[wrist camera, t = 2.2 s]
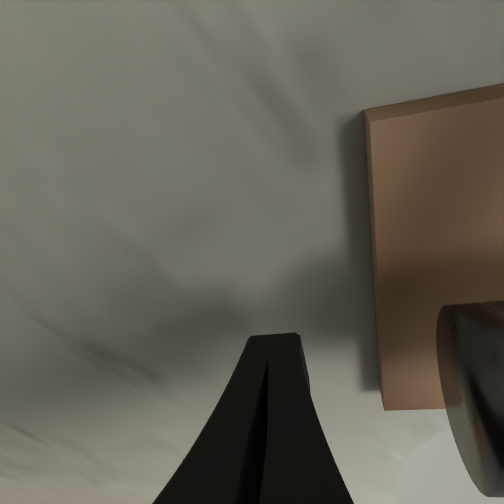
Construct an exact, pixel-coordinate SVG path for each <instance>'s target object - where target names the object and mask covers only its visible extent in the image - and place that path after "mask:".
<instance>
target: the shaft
mask: <svg viewBox="0 0 504 504" xmlns="http://www.w3.org/2000/svg"><path fill="white" fill-rule="evenodd" d="M436 349H437V361H438V369H439V376H440V382H441V388H442V393H443V398H444V403H445V407H446V411H447V415H448V419H449V422H450V426H451V429H452V432H453V436H454V439H455V442H456V445H457V447H458V450H459V453H460V455H461V458H462V460H463V463H464V465H465V467H466V469H467V471H468V473H469V475H470V477H471V479H472V481H473V482H474V484H475V485H476V487H477V488H478V489H479V491H480V492H481V493H482V494H484V495H485V496H487V497H504V300H499V301H487V302H476V303H464V304H452V305H445V306H443V307H442V308H441V310H440V312H439V315H438V319H437V327H436Z"/></svg>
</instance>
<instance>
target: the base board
mask: <svg viewBox="0 0 504 504" xmlns="http://www.w3.org/2000/svg"><path fill="white" fill-rule="evenodd" d="M364 118H365V135H366V153H367V171H368V189H369V206H370V224H371V242H372V260H373V277H374V295H375V313H376V331H377V348H378V366H379V384H380V392H381V397H382V402H383V407H384V411H388V410H417V409H446V407H445V403H444V398H443V393H442V388H441V382H440V376H439V369H438V361H437V349H436V327H437V319H438V315H439V312H440V310H441V308H442V307H443V306H445V305H452V304H464V303H476V302H487V301H499V300H504V84H499V85H493V86H488V87H483V88H478V89H472V90H467V91H462V92H456V93H451V94H446V95H440V96H435V97H430V98H425V99H419V100H414V101H409V102H403V103H398V104H393V105H387V106H382V107H377V108H372V109H366V110H364Z"/></svg>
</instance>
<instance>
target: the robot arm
mask: <svg viewBox="0 0 504 504" xmlns="http://www.w3.org/2000/svg"><path fill="white" fill-rule="evenodd" d="M152 504H354V503H353V501H352V498H351V496H350V494H349V492H348V490H347V488H346V486H345V483H344V481H343V479H342V477H341V474H340V472H339V470H338V467H337V465H336V463H335V461H334V458H333V456H332V453H331V451H330V448H329V446H328V443H327V441H326V438H325V436H324V433H323V430H322V428H321V425H320V422H319V420H318V417H317V414H316V411H315V408H314V405H313V402H312V398H311V394H310V384H309V376H308V371H307V366H306V362H305V357H304V352H303V347H302V343H301V338H300V335H298V334H297V333H283V334H270V335H257V336H251V337H250V338H249V339H248V340H247V343H246V345H245V348H244V350H243V352H242V355H241V357H240V359H239V362H238V364H237V366H236V368H235V370H234V372H233V374H232V376H231V378H230V380H229V382H228V384H227V386H226V388H225V390H224V392H223V394H222V396H221V398H220V400H219V402H218V404H217V405H216V407H215V409H214V411H213V413H212V414H211V416H210V418H209V419H208V421H207V423H206V425H205V426H204V428H203V430H202V431H201V433H200V435H199V436H198V438H197V440H196V441H195V443H194V445H193V446H192V448H191V449H190V451H189V452H188V454H187V455H186V457H185V459H184V460H183V462H182V463H181V464H180V466H179V467H178V469H177V470H176V472H175V473H174V475H173V476H172V478H171V479H170V480H169V482H168V483H167V485H166V486H165V487H164V489H163V490H162V491H161V493H160V494H159V495H158V497H157V498H156V499H155V501H154V502H153V503H152Z"/></svg>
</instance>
